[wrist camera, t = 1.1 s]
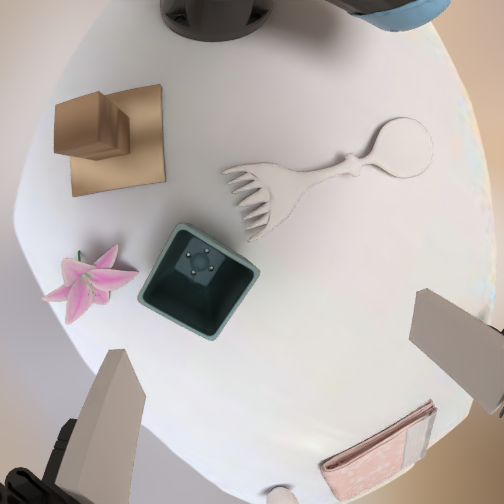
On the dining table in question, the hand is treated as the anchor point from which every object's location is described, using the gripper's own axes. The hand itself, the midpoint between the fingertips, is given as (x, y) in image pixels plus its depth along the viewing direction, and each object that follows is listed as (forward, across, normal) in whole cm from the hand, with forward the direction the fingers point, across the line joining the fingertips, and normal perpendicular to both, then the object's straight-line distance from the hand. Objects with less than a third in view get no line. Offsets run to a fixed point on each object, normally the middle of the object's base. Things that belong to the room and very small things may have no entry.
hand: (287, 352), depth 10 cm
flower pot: (+24, -5, -2) cm, 24 cm away
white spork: (+24, +16, +7) cm, 30 cm away
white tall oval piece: (+22, +1, -67) cm, 70 cm away
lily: (+24, -18, -2) cm, 30 cm away
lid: (+23, -13, +14) cm, 30 cm away
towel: (+23, +32, -70) cm, 80 cm away
